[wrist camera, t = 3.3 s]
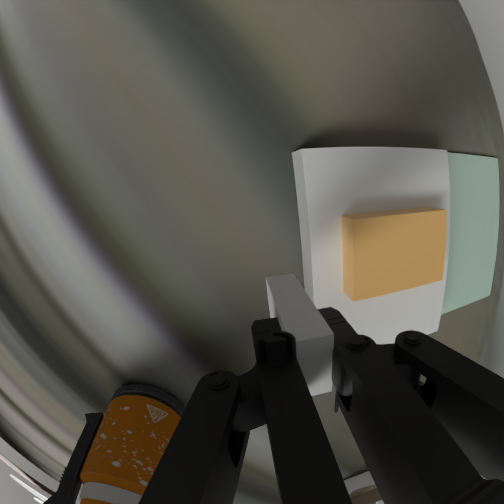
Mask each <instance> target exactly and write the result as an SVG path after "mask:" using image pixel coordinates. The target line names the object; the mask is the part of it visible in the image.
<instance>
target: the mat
mask: <svg viewBox="0 0 504 504" xmlns="http://www.w3.org/2000/svg"><path fill="white" fill-rule="evenodd" d="M447 154H448V165H449V180H450V241H449V256H448V267H447V277H446V285H445V292H444V299H443V305H442V311H441V314H444V313H447V312H449V311H452V310H455V309H457V308H460V307H462V306H465V305H467V304H470V303H472V302H475V301H477V300H480V299H482V298H484V297H487V296H489V295H490V292H491V286H492V281H493V274H494V268H495V260H496V252H497V241H498V227H499V172H498V158H493V157H485V156H478V155H469V154H459V153H449V152H447Z"/></svg>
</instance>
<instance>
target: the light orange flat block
mask: <svg viewBox="0 0 504 504" xmlns="http://www.w3.org/2000/svg"><path fill="white" fill-rule="evenodd" d="M341 225H342V246H343V292H344V293H345V294H346V295H347V296H348V297H349V298H350V299H351V300H352V301H353V302H354V301H359V300H364V299H368V298H373V297H377V296H381V295H386V294H390V293H394V292H398V291H402V290H406V289H410V288H414V287H418V286H422V285H426V284H430V283H433V282H437V281H440V280H443V271H444V260H445V246H446V210H445V209H440V208H436V207H423V208H412V209H401V210H390V211H380V212H370V213H361V214H352V215H342V216H341Z"/></svg>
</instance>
